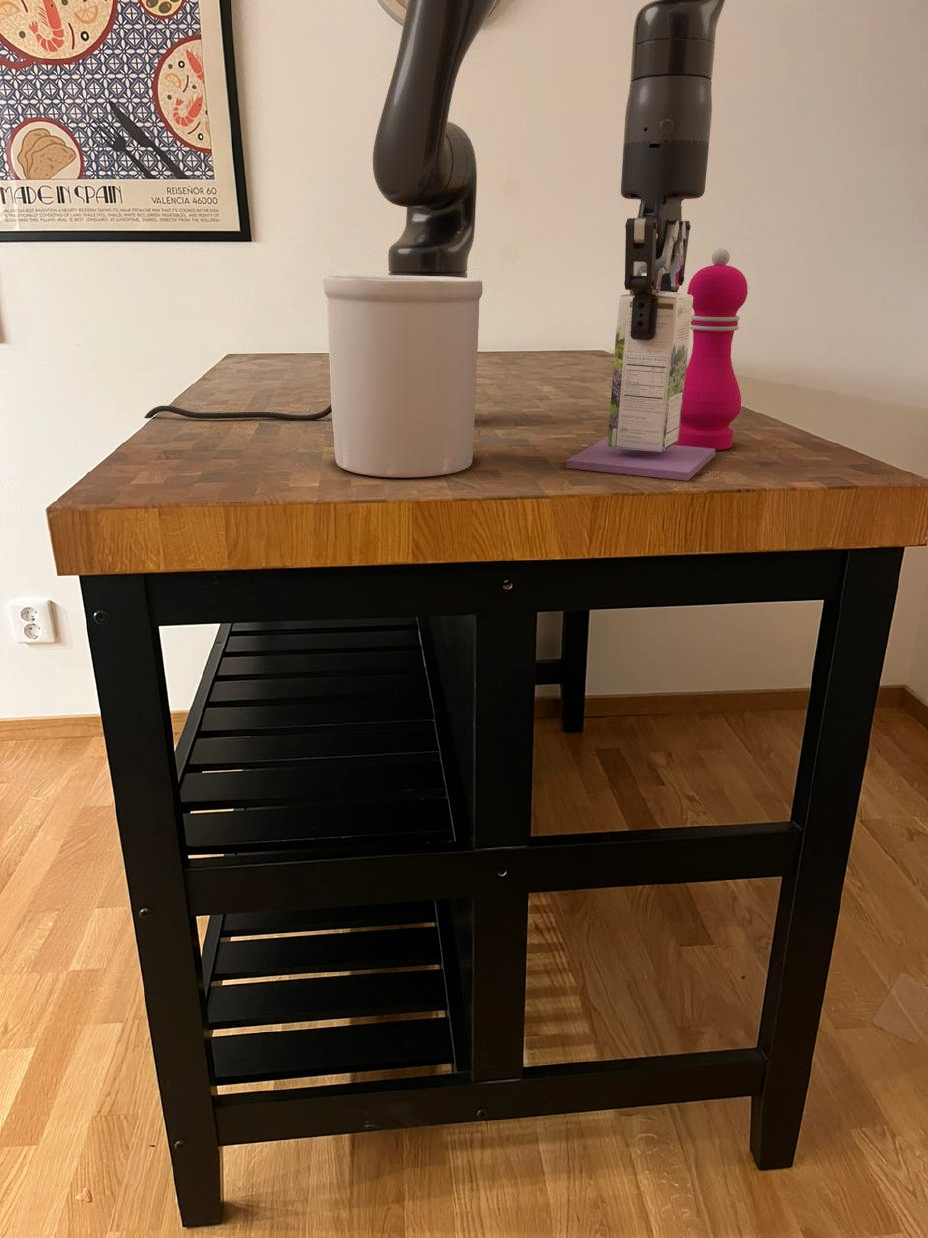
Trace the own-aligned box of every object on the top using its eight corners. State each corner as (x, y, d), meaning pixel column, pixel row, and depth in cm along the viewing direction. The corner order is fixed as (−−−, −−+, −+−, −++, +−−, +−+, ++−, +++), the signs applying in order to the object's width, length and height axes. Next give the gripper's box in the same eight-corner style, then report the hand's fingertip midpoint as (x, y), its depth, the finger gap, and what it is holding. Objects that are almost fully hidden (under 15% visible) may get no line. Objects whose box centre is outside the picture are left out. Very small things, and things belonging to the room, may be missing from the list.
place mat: (565, 468, 91) (566, 459, 91) (603, 445, 101) (603, 438, 101) (687, 480, 86) (688, 472, 86) (714, 456, 96) (715, 448, 96)
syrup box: (624, 438, 96) (634, 290, 91) (681, 443, 94) (694, 291, 89) (606, 448, 92) (615, 292, 86) (665, 453, 89) (678, 294, 84)
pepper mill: (738, 453, 97) (761, 248, 90) (668, 450, 99) (685, 248, 91) (734, 440, 104) (755, 248, 96) (668, 437, 105) (684, 247, 98)
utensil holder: (466, 446, 101) (467, 273, 94) (494, 477, 87) (497, 278, 81) (329, 450, 98) (320, 273, 92) (335, 483, 85) (325, 279, 78)
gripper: (646, 148, 90) (634, 329, 97) (600, 133, 78) (590, 341, 84) (724, 145, 87) (706, 332, 94) (689, 129, 75) (671, 345, 81)
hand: (651, 335), depth 89 cm, fingers closed on syrup box, 5 cm apart
